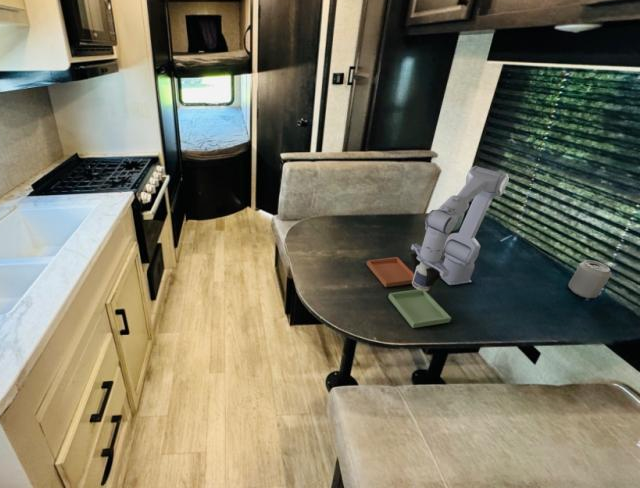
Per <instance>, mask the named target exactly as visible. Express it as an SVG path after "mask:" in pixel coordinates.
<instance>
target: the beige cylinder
mask: <svg viewBox="0 0 640 488" xmlns="http://www.w3.org/2000/svg"><path fill="white" fill-rule="evenodd" d="M611 276H612V273H611V268H610V267H609V266H608V265H605V264H604V263H602V262H599V261H596V260H592V259H591V260H590V259H586V260H584V261H583V262H580V263H579V265H578V266H577V268H576V270H575V272H574V274H573V276H572V277H571V279H570V280H569V282H568V285H567V286H568V288H569V289H570V291H571V292H573V293H574V294H576V295H578V296H579V297H583V298H586V299H595V298H597V297H598V296H599V295H600V293H601V292H602V290H603V289H604V288H605V286H606V284H607V283H608V281H609V280H610V278H611Z"/></svg>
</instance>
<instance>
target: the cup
mask: <svg viewBox="0 0 640 488" xmlns="http://www.w3.org/2000/svg"><path fill="white" fill-rule="evenodd" d="M465 213H466V212H464V213H463V214H462V215H461V216H460V217H459V218H458V222H457V223H456V225H455V227H454V228H453V230H452V231H451V232H456V231H458V230H459V229H460V228H461V226H462V224H463V221H464V217H465Z"/></svg>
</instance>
